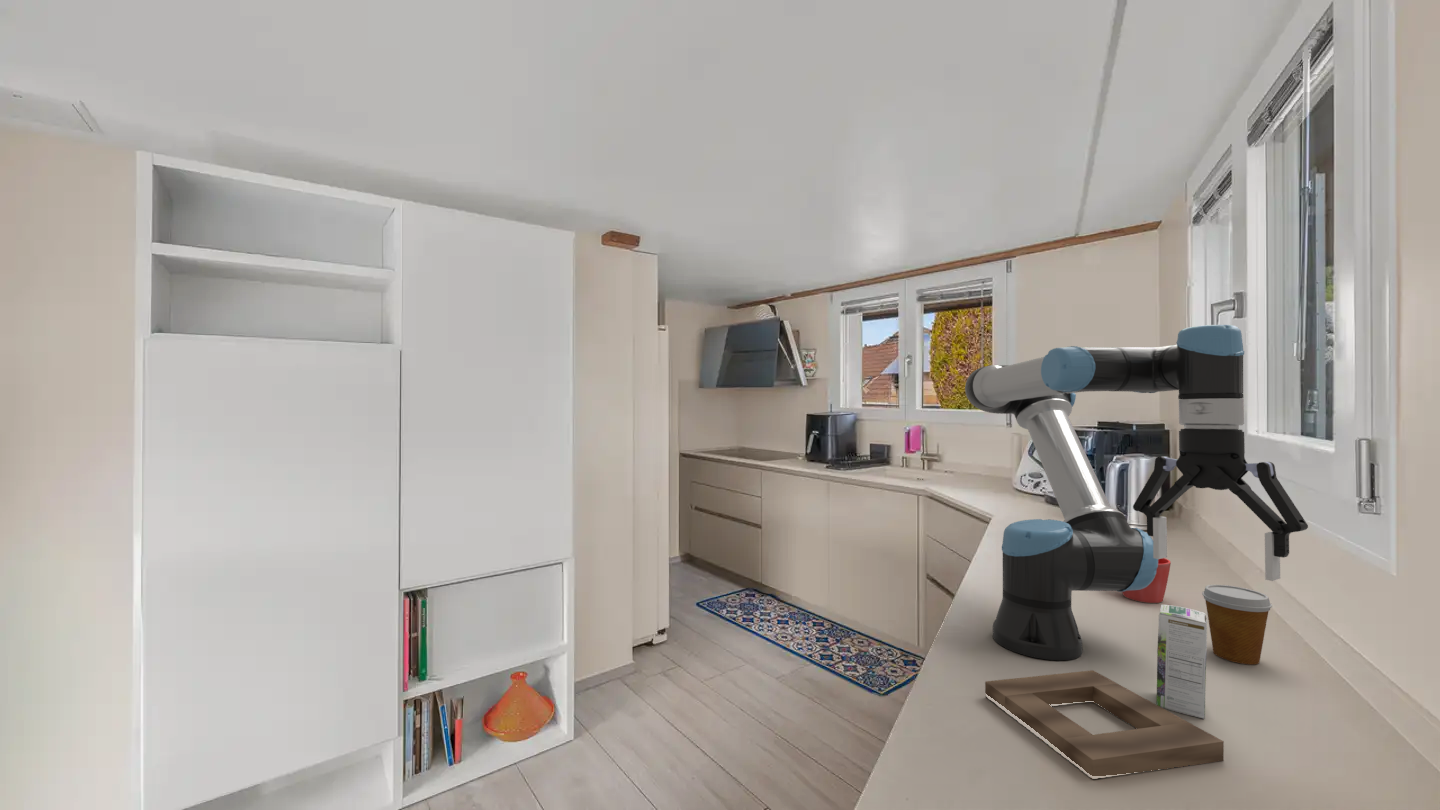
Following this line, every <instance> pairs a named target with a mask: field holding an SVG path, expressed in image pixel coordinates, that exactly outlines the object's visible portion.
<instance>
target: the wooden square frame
mask: <svg viewBox="0 0 1440 810" xmlns="http://www.w3.org/2000/svg"><path fill="white" fill-rule="evenodd" d="M984 684H985V685H984V686H985V687H984V688H985V689H984V691H985V693H986V694H987V695H988V696H990V697H991V698H993V699H994V700H995V701H997V702H998V703H999V704H1001V705H1002V706H1004V707H1005V708H1006V709H1007V710H1009V711H1010V712H1011V713H1012V714H1014V715H1015V716H1017V717H1018V718H1019V719H1021V720H1022V721H1023V722H1025V723H1026V724H1027V725H1029V726H1030V727H1031V728H1033V729H1034V730H1035V731H1036V732H1038V733H1039V734H1040V735H1041V736H1043V737H1044V738H1045V739H1047V740H1048V741H1049V742H1050V743H1051V744H1053V745H1054V746H1055V747H1057V748H1058V749H1059V750H1060V751H1061V752H1063V753H1064V754H1065V755H1066V756H1067V757H1069V758H1070V759H1071V760H1072V761H1074V762H1075V763H1076V764H1078V765H1079V766H1080V767H1082V768H1083V769H1084V770H1085V771H1086V772H1087V773H1089V774H1090V775H1092V776H1106V775H1117V774H1126V773H1134V772H1143V771H1151V770H1152V771H1151V772H1154V771H1153V770H1158V769H1164V770H1168V769H1167V768H1171V769H1175V768H1174V767H1178V768H1184V767H1190V766H1197V765H1202V764H1209V763H1217V762H1224V759H1225V758H1224V751H1225V750H1224V749H1225V748H1224V747H1225V746H1224V745H1225V744H1224V743H1225V742H1224V740H1222V739H1220V738H1219V737H1216V736H1214V735H1212V734H1211V733H1209V732H1207V731H1206V730H1204V729H1202V728H1199V726H1196V725H1194V724H1193V723H1190V722H1189V721H1187V720H1185V719H1183V718H1181V717H1180V716H1177V715H1176V714H1174V713H1172V712H1171V711H1170V710H1168V709H1164V708H1161V707H1160V706H1158V705H1156V704H1155V703H1154V702H1152V701H1151V700H1148V699H1147V698H1145V697H1143V696H1141V695H1140V694H1138V693H1135V692H1134V691H1132V690H1130V689H1129V688H1127V687H1124V686H1123V685H1121V684H1120V683H1117V682H1115V681H1114V680H1112V679H1110V678H1108V677H1106V676H1104V675H1103V674H1101V673H1099V672H1097V671H1096V670H1093V669H1090V670H1084V671H1083V670H1082V671H1074V672H1072V671H1071V672H1064V673H1054V674H1052V673H1051V674H1045V675H1036V676H1035V675H1034V676H1033V675H1032V676H1025V677H1016V678H1006V679H997V680H985V682H984ZM985 693H984V694H985ZM1085 701H1094V702H1095V703H1097V704H1099V705H1100V706H1102V707H1103V708H1105V709H1106V710H1108V711H1109V712H1108V711H1107V712H1108V713H1110V712H1111V713H1112V714H1111V713H1110V714H1111V715H1113V714H1114V715H1113V716H1115V717H1116V716H1117V717H1116V718H1118V719H1119V718H1120V720H1121V719H1122V720H1121V721H1123V720H1124V721H1125V723H1126V722H1127V723H1126V724H1128V723H1129V724H1131V725H1132V726H1131V725H1130V726H1131V727H1133V726H1134V727H1135V728H1134V727H1133V729H1126V730H1120V731H1118V730H1117V731H1111V732H1104V733H1096V734H1095V733H1094V734H1093V733H1091V732H1090V731H1088V730H1087V729H1085V728H1084V727H1082V726H1081V725H1079V724H1078V723H1076V722H1075V721H1074V720H1072V719H1071V718H1069V717H1068V716H1066V715H1065V714H1063V713H1061V712H1060V711H1059V710H1057V709H1056V708H1055V707H1051V706H1050V705H1051V704H1062V703H1073V702H1085ZM1095 703H1094V704H1095ZM1049 704H1050V705H1049ZM1100 706H1099V707H1100ZM1103 708H1102V709H1103ZM1105 709H1104V710H1105ZM1106 710H1105V711H1106ZM1124 721H1123V722H1124ZM1129 724H1128V725H1129ZM1136 728H1137V729H1136ZM1188 765H1190V766H1188ZM1183 766H1184V767H1183ZM1158 771H1159V770H1158Z"/></svg>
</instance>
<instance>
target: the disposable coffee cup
mask: <svg viewBox="0 0 1440 810" xmlns="http://www.w3.org/2000/svg"><path fill="white" fill-rule="evenodd" d="M1201 595H1202V597H1203V599H1204V600H1205V606H1206V612H1207V613H1206V615H1207V621H1208V625H1209V633H1210V639H1211V646H1212V647H1211V648H1212V652H1213V654H1214V655H1215V656H1217V657H1219V658H1220V659H1224V660H1225V661H1229V662H1233V663H1238V664H1242V665H1249V666H1250V665H1251V666H1252V665H1258V664H1260V661H1261V656H1262V650H1263V645H1264V640H1265V639H1264V637H1265V633H1266V628H1267V622H1268V621H1267V620H1268V616H1269V611H1271V608H1273V604H1272V603H1271V602H1270V601H1271V600H1270V598H1269V596H1268V594H1265V593H1263V592H1261V591H1257V590H1253V589H1250V588H1246V587H1241V586H1235V585H1226V584H1207V585H1206V586H1205V587H1204V591H1202V592H1201Z"/></svg>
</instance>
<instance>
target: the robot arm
mask: <svg viewBox="0 0 1440 810" xmlns="http://www.w3.org/2000/svg"><path fill="white" fill-rule="evenodd" d="M1242 335H1243V334H1242V331H1241V329H1240V328H1239V327H1238V326H1237V325H1232V324H1208V325H1198V326H1195V325H1194V326H1191V327H1190V326H1189V327H1186V328H1183V329H1181V330H1179V332H1178V333H1177V340H1176V344H1174V345H1173V344H1172V345H1164V346H1157V347H1156V346H1155V347H1143V346H1142V347H1135V346H1134V347H1132V346H1131V347H1126V346H1125V347H1123V346H1122V347H1120V346H1119V347H1113V346H1112V347H1098V346H1097V347H1091V346H1089V347H1088V346H1087V347H1084V346H1078V345H1077V346H1075V345H1071V346H1064V347H1055V348H1052V349H1050V350H1049V351H1048V353H1046V355H1044V356H1043V357H1038V358H1033V359H1029V360H1025V361H1022V362H1018V363H1013V364H1010V365H1009V364H1007V365H1005V364H1002V365H1001V364H1000V365H997V364H995V365H993V364H991V365H987V366H983V367H979V368H977V369H976V370H973V371H972V372H971V374H969V376H968V378H967V379H966V381H965V385H964V386H965V387H964V390H965V396H966V398H967V400H968V402H969V403H970V404H971V405H972V406H974V407H975V408H976V409H978V410H981V411H983V412H987V413H991V414H1002V415H1003V414H1004V415H1005V414H1006V415H1010V414H1011V415H1013V416H1014V418H1015V420H1016V423H1017V424H1018V426H1019V427H1021V428H1022V429H1025V430H1028V433H1029V435H1030V438H1031V441H1032V443H1033V445H1034V448H1035V451H1036V452H1037V455H1038V457H1039V461H1040V462H1041V465H1042V468H1043V469H1044V472H1045V475H1046V477H1047V479H1048V482H1049V484H1050V487H1051V489H1052V492H1053V494H1054V497H1055V499H1056V502H1057V503H1058V506H1059V508H1060V512H1061V514H1062V516H1063V519H1064V520H1063V521H1062V520H1057V519H1041V518H1033V519H1023V520H1018V521H1014V522H1012V523H1010V524H1008V525H1007V526H1006V527H1005V529H1004V531H1003V534H1002V535H1003V536H1002V545H1001V551H1002V599H1001V602H1000V605H999V608H998V611H997V614H996V617H995V620H994V621H993V623H992V639H993V640H994V641H995V642H996V643H997V644H998V645H1000V646H1001V647H1003V648H1005V649H1007V650H1009V651H1012V652H1014V653H1016V654H1020V655H1023V656H1027V657H1030V658H1035V659H1042V660H1049V661H1068V660H1076V659H1077V658H1079V657H1081V656H1082V654H1083V639H1082V636H1081V634H1080V631H1079V627H1078V625H1077V621H1076V618H1075V615H1074V613H1073V611H1072V592H1073V591H1074V592H1075V591H1078V592H1079V591H1085V592H1087V591H1090V592H1094V591H1095V592H1098V591H1099V592H1119V593H1121V592H1122V593H1123V592H1125V591H1130V590H1140V589H1143V588H1145V587H1147V586H1148V585H1149V584H1150V583H1151V582H1152V581H1153V579H1154V578H1155V575H1156V570H1157V567H1158V559H1162V558H1166V559H1167V558H1168V521H1167V519H1168V518H1167V516H1162V515H1163V513H1164V512H1165V511H1167V509H1169V508H1170V506H1172V504H1174V503H1175V502H1176V501H1177V500H1178V499H1179V498H1180V497H1182V496H1183V495H1184V494H1185V493H1186V492H1187V491H1188V490H1190V489H1192V488H1193V487H1195V488H1197V489H1207V488H1209V489H1212V490H1217V491H1224V490H1229V491H1230V492H1231V493H1232V494H1234V495H1235V496H1237V497H1238V498H1239V500H1240V501H1242V502H1243V504H1244V505H1246V506H1247V508H1249V510H1250V511H1252V512H1253V513H1254V514H1255V515H1256V516H1257V518H1259V520H1261V522H1262V523H1263V524H1265V525H1266V526H1267V527H1268V528H1269V530H1270V531H1267V532H1264V564H1265V565H1264V572H1265V577H1264V579H1265V581H1271V582H1273V581H1274V582H1275V581H1277V580H1280V579H1281V558H1287V557H1289V554H1290V534H1292V533H1297V532H1298V533H1299V532H1303V531H1306V530H1307V529H1308V528H1309V524H1308V523H1307V522H1306V520H1305V519H1304V517H1303V516H1302V514H1301V513H1300V511H1299V510H1298V508H1297V507H1296V505H1295V503H1294V502H1293V500H1292V498H1291V497H1290V496H1289V495H1288V493H1287V491H1286V490H1285V488H1284V486H1283V485H1282V484H1281V482H1280V480H1279V479H1278V478H1277V473H1276V466H1275V464H1274V463H1273V462H1271V461H1260V462H1254V463H1252V462H1251V463H1249V462H1248V461H1246V458H1245V453H1246V451H1245V448H1246V447H1245V444H1246V443H1245V431H1243V429H1240V426H1243V425H1244V424H1245V409H1244V407H1245V404H1244V355H1245V350H1244V346H1243V345H1244V344H1243V343H1244V342H1243V336H1242ZM1170 391H1172V392H1173V391H1178V395H1177V396H1178V398H1177V399H1178V424H1179V425H1182V426H1183V428H1181V429H1180V430H1178V450H1179V456H1178V458H1172V457H1170V456H1167V455H1166V456H1157V457H1156V458H1154V467H1153V471H1152V473H1151V475H1150V476H1149V477H1148V479H1147V481H1146V483H1145V484H1144V486H1143V488H1142V490H1141V491H1140V493H1139V495H1138V497H1137V498H1136V500H1135V502H1134V504H1133V505H1132V509H1133V510H1134V511H1136V512H1139V513H1142V514H1143V515H1144V516H1146V531H1144V530H1143V529H1140V528H1138V527H1131V526H1130V524H1129V522H1128V519H1127V518H1126V515H1125V514H1124V513H1123V512H1121V511H1119V510H1116V509H1114V508H1112V507H1111V505H1110V503H1109V500H1108V499H1107V496H1106V493H1105V492H1104V490H1103V487H1102V486H1101V483H1100V481H1099V479H1098V476H1097V475H1096V473H1095V471H1094V469H1093V466H1092V465H1091V462H1090V460H1089V458H1088V456H1087V454H1086V451H1085V449H1084V447H1083V445H1082V443H1081V441H1080V439H1079V436H1078V434H1077V432H1076V430H1075V428H1074V426H1073V424H1072V422H1071V421H1072V420H1070V417H1069V416H1071V415H1070V414H1072V411H1073V407H1074V405H1075V403H1076V399H1077V398H1076V397H1077V393H1084V392H1085V393H1086V392H1128V393H1129V392H1132V393H1133V392H1134V393H1138V394H1146V393H1148V394H1155V393H1158V392H1160V393H1161V392H1170ZM1176 467H1177V469H1178V470H1179V471H1180V473H1181V474H1182V475H1180V477H1179V478H1178V479H1177V480H1176V481H1175V482H1174V484H1173V485H1172V486H1171V487H1169V488H1168V489H1167V490H1166V492H1165V493H1163V494H1162V495H1161V496H1160V497H1159V498H1158V499H1157V500H1156V501H1155V502H1153V501H1154V499H1155V498H1156V496H1157V494H1158V492H1159V491H1160V489H1161V487H1162V486H1163V484H1164V482H1165V481H1166V479H1168V477H1169V474H1170V472H1171V471H1173V470H1174V469H1175V468H1176ZM1248 472H1250V473H1251V474H1252V476H1253V477H1254V478H1257V479H1258V481H1259V483H1260V484H1261V487H1262V488H1263V489H1264V490H1265V493H1267V496H1268V497H1269V498H1270V500H1271V501H1272V503H1273V505H1274V506H1275V508H1276V509H1277V511H1278V512H1279V514H1280V515H1281V517H1282V518H1281V517H1280V516H1279V515H1278V514H1277V513H1276V512H1275V511H1274V510H1273V509H1272V508H1271V507H1270V506H1269V505H1268V504H1267V503H1266V502H1265V501H1264V500H1263V499H1262V498H1261V496H1259V495H1258V494H1257V493H1256V492H1255V491H1254V490H1252V488H1251V486H1250V485H1249V484H1248V483H1247V482H1246V481H1245V480H1244V479H1243V477H1244V476H1246V474H1247V473H1248Z"/></svg>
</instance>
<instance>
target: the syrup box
mask: <svg viewBox="0 0 1440 810" xmlns="http://www.w3.org/2000/svg"><path fill="white" fill-rule="evenodd" d="M1207 629H1208V616H1207V613H1205V612H1203V611H1199V610H1196V609H1193V608H1189V607H1188V608H1187V607H1183V606H1178V605H1171V604H1160V609H1159V614H1158V633H1157V650H1156V653H1157V654H1156V655H1157V656H1156V657H1157V658H1156V659H1157V660H1156V705H1158V706H1160V707H1161V708H1163V709H1165V710H1167V711H1172V712H1176V713H1180V714H1183V715H1187V716H1192V717H1196V718H1199V719H1203V720H1204V719H1206V691H1207V689H1206V684H1207V683H1206V681H1207V648H1208V647H1207V644H1208V643H1207V642H1208V641H1207V639H1208V637H1207V636H1208V635H1207V633H1208V630H1207Z"/></svg>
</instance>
